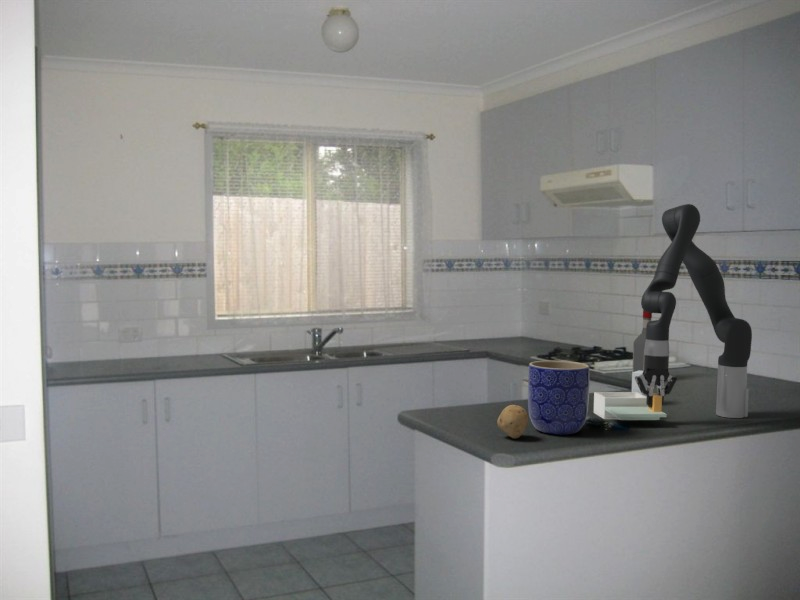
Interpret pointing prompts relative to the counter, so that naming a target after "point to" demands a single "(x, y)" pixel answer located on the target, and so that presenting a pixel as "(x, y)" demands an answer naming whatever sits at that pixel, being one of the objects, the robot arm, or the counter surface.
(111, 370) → the counter surface
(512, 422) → the potato
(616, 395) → the tub
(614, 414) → the lid
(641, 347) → the liquor
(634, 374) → the skincare box
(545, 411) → the planter
